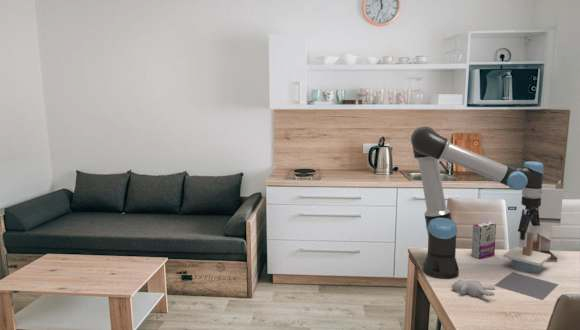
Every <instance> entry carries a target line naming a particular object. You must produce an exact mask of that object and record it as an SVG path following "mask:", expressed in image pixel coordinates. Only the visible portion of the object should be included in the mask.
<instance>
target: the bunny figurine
mask: <svg viewBox="0 0 580 330" xmlns="http://www.w3.org/2000/svg"><path fill="white" fill-rule="evenodd" d="M451 290H454V292H456V293H458V294H461V295H468V296H471V297H475V298H478V297H479V296H481V295H485V296H487V297H491V296H492V291H495V290H496V286H493V285H490V286H489V285H488V286H487V285H486V286H483V285H482V283H481V282H480V281H478V280H462V279H460V280H457V281H455V282H454V283H452V285H451Z"/></svg>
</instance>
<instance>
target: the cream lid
mask: <svg viewBox="0 0 580 330" xmlns="http://www.w3.org/2000/svg"><path fill="white" fill-rule="evenodd" d="M533 234H534V233H529V232H527V242H526V247H520V246H514V247H512V248H511V249H510V250H508V251H507V252H505V253H504V254H503V255H502V257H503V258H505V259H509V260H511V259H513V260H517V261H521V262H525V263H529V264H533V265H537V266H541V265H542V266H543V264H544V263H545V262H546V261H547V260H548V259H549V258H550V257H551V255H550V254H546V253H541V252H537V251H532V246H533Z"/></svg>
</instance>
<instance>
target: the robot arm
mask: <svg viewBox="0 0 580 330" xmlns="http://www.w3.org/2000/svg"><path fill="white" fill-rule="evenodd" d="M410 142H411V146H412V147H411V148H412V151H413V158H414V159H415V160H417V161H418V166H419V171H420V177H421V183H422V189H423V193H424V195H423V196H424V201H425V207H426V211H425V212H424V219H425V226H426V227H425V228H426V231H427V236H428V237H427V254H426V257H425V259H424V262H423V265H422V271H423V273H425V275H427V276H430V277H433V278H437V279H441V280H442V279H446V280H447V279H448V280H449V279H455V278H457V277H458V276H459V273H460V269H459V265H458V262H457V258H456V253H457V252H456V250H457V249H456V248H457V233H458V228H457V223H456V222H455V221H454V220H453V219H452V214H451V210H450V209H448V208H447V205H446V199H445V194H444V193H445V192H444V188H443V182H442V175H441V171H440V170H441V169H440V164H439V161H440V160H441V159H442V160H445V161H447V162H449V163H451V164H453V165H457V166H459V167H461V168H463V169H467V170H469V171H471V172H473V173H475V174H478V175H480V176H483V177H485V178H488V179H489V180H493V181H494V182H495V183H500V184H502V185H504V186H507V187H508V188H510V189H512V190H514V191H515V190H516V191H521V195H522V196H521V201H520V203H521V205H522V206H524V207H525V208H524V209H523V208H522V210H521V216H520V221H519V225H518V229H517V232H519V241H518V247H521V248H523V247H526V242H527V229H528V225H529V222H530V220H531V224H532V225H531V227H530V233H534V234H533V240H537V228H538V226H540V224H539V223H540V221H539V210H538V209H539V206H541V198H540V197H541V193H543V191H542V185H543V179H544V174H545V173H544V164H543V163H542V162H540V161H525V162H524V164H523V165H522V166H521V165H520V166H517V165H516V166H515V165H505V164H502V163H500V162H497V161H495V160H493V159H490V158H488V157H486V156H483V155H480V154H478V153H476V152H474V151H471V150H469V149H466V148H464V147H462V146H459V145H456V144H454V143H452V142H450V140H449V139H448V138H446V137H443V136H442V135H440V134H438V133H437V132H436V130H435V129H434V128H432V127H430V126H421V127H418V128H416V129H414V131H413V132H412V133H411V137H410Z"/></svg>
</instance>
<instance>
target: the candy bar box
mask: <svg viewBox="0 0 580 330" xmlns="http://www.w3.org/2000/svg"><path fill="white" fill-rule="evenodd" d="M496 230H497V223H495V222H493V221H484V222H483V221H482V222H480V223H479V222H478V223H475V224H474V223H473V224H472V238H471V239H472V242H471V244H472V245H471V257H473V258H475V259H478V260H483V259H485V258H489V257H492V256H493V257H494V256H495V250H496V234H497V233H496Z"/></svg>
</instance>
